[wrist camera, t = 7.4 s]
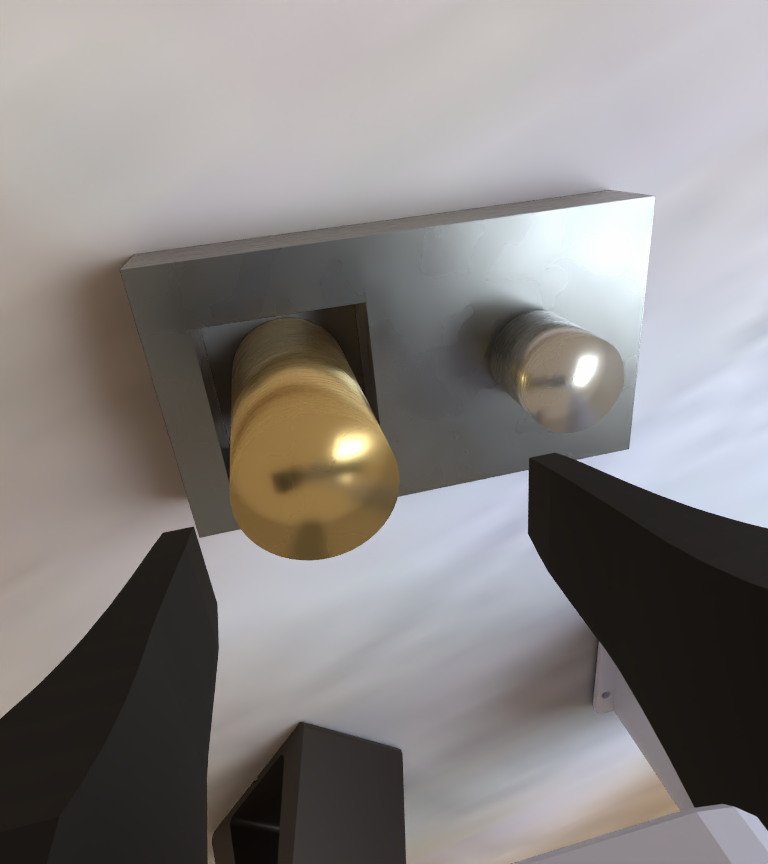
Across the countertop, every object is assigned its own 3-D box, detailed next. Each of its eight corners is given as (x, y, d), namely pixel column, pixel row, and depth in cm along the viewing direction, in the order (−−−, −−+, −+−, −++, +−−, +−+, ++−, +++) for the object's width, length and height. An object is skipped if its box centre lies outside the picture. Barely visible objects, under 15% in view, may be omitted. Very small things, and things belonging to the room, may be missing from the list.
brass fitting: (354, 411, 22) (408, 537, 15) (247, 435, 22) (253, 577, 15) (335, 307, 20) (387, 396, 13) (218, 330, 20) (208, 436, 13)
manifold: (594, 421, 25) (680, 489, 20) (203, 498, 22) (193, 597, 18) (610, 190, 21) (724, 205, 16) (134, 254, 18) (96, 295, 13)
